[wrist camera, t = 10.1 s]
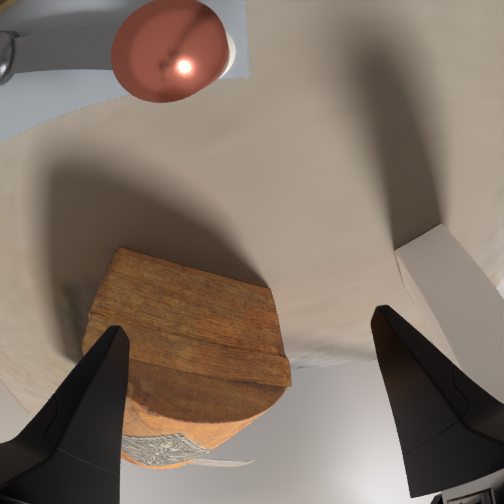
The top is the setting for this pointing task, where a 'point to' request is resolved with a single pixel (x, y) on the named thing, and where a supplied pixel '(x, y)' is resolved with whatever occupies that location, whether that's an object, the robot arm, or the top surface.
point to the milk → (457, 305)
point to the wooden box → (188, 355)
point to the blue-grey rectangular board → (83, 81)
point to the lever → (132, 50)
